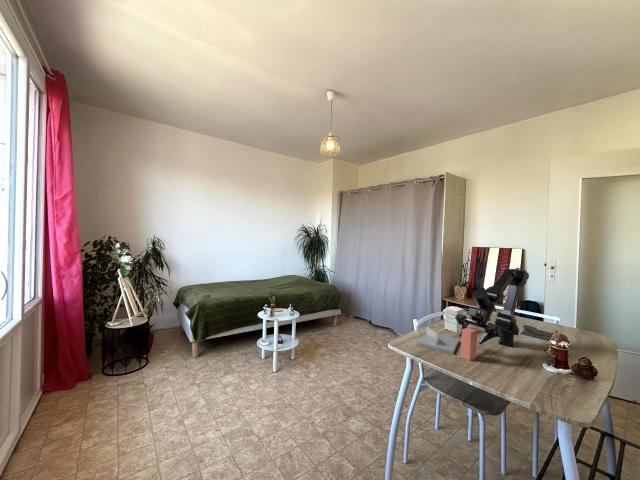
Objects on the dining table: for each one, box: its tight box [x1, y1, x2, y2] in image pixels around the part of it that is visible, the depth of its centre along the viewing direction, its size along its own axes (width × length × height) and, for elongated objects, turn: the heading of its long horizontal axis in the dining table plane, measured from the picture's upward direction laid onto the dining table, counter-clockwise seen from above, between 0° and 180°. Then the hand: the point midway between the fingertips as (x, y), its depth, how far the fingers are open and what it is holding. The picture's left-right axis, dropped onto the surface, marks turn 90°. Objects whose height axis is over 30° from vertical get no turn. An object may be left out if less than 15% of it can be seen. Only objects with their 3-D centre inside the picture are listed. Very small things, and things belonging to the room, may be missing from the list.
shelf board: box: [416, 331, 460, 355], centre depth 134 cm, size 18×16×2 cm
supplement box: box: [444, 305, 465, 334], centre depth 154 cm, size 7×7×13 cm
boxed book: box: [460, 327, 478, 362], centre depth 119 cm, size 5×4×12 cm
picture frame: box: [514, 324, 555, 345], centre depth 148 cm, size 16×3×21 cm
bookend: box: [426, 326, 440, 345], centre depth 134 cm, size 10×1×5 cm, turn 3°
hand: (469, 340), depth 119 cm, fingers open, 9 cm apart
